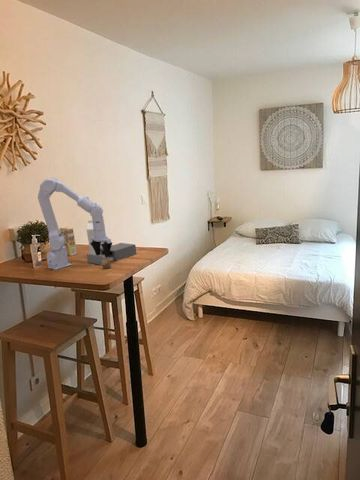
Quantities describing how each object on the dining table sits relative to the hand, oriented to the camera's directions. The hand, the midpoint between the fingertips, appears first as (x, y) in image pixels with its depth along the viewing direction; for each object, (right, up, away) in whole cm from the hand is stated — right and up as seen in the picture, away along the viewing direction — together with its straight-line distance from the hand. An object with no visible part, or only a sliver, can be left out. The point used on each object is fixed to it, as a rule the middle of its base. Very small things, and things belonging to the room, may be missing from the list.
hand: (102, 255), depth 195 cm
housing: (+7, -1, +8) cm, 10 cm away
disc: (0, -2, 0) cm, 2 cm away
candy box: (-23, 0, +24) cm, 33 cm away
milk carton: (-5, 0, +16) cm, 17 cm away
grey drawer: (+1, -2, +2) cm, 3 cm away
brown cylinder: (+4, -5, -12) cm, 14 cm away
